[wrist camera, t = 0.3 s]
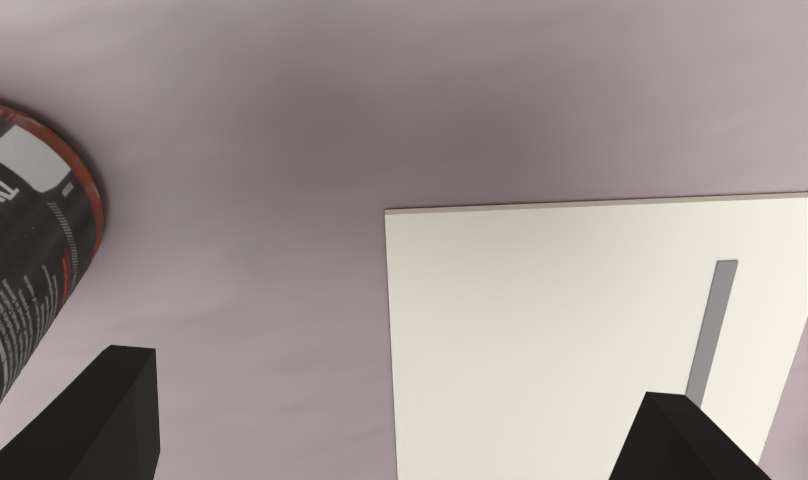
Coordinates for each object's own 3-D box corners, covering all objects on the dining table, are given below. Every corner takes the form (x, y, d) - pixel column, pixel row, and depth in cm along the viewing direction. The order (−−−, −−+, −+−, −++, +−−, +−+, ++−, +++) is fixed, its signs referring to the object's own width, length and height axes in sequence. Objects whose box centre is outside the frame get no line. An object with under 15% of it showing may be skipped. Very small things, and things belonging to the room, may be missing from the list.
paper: (725, 544, 29) (729, 553, 28) (401, 559, 28) (402, 569, 28) (842, 190, 20) (850, 197, 20) (384, 209, 20) (384, 216, 20)
